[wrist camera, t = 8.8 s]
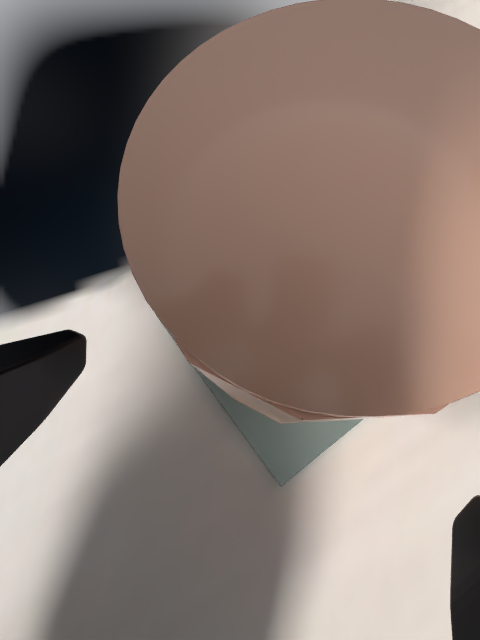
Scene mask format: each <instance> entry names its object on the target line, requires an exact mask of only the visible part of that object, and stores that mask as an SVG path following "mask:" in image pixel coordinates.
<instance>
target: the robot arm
mask: <svg viewBox="0 0 480 640" xmlns="http://www.w3.org/2000/svg"><path fill="white" fill-rule="evenodd" d="M85 364H86V337H85V336H84V335H83V334H80V333H78V332H75V331H73V330H63V331H59V332H55V333H50V334H46V335H41V336H37V337H33V338H28V339H24V340H20V341H15V342H11V343H6V344H2V345H0V466H1V465H2V464H3V463H4V462H5V461H6V460H7V459H8V458H9V457H10V456H11V455H12V454H13V453H14V452H15V451H16V450H17V449H18V448H19V446H20V445H21V444H22V443H23V442H24V441H25V440H26V439H27V438H28V437H29V436H30V435H31V434H32V433H33V432H34V431H35V430H36V429H37V428H38V427H39V425H40V424H41V423H42V422H43V421H44V420H45V419H46V417H47V416H48V415H49V414H50V413H51V411H52V410H53V409H54V407H55V406H56V405H57V404H58V402H59V401H60V400H61V398H62V397H63V396H64V395H65V393H66V392H67V391H68V389H69V388H70V387H71V386H72V384H73V383H74V382H75V380H76V379H77V378H78V377H79V375H80V374H81V373H82V371H83V369H84V367H85ZM450 609H451V625H452V638H453V640H480V495H477V496H475V497H473V498H472V499H471V500H470V502H469V503H468V504H467V505H466V506H465V507H464V508H463V510H462V511H461V512H460V513H459V514H458V515H457V517H456V518H455V520H454V523H453V528H452V556H451V587H450Z"/></svg>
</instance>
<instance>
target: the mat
mask: <svg viewBox="0 0 480 640" xmlns="http://www.w3.org/2000/svg"><path fill="white" fill-rule="evenodd" d="M156 316H157V315H156ZM159 320H160V319H159ZM161 323H162V322H161ZM164 327H165V326H164ZM165 328H166V327H165ZM166 329H167V328H166ZM167 331H168V332H169V334H170V335H171V333H170V331H169V330H168V329H167ZM171 336H172V335H171ZM172 338H173V336H172ZM173 339H174V338H173ZM174 340H175V339H174ZM175 342H176V341H175ZM177 345H178V344H177ZM193 367H194V366H193ZM194 368H195V367H194ZM195 369H196V368H195ZM196 371H197V372H198V373H199V375H200V376H201V377H202V379H203V380H204V382H205V383H206V384H207V386H208V387H209V388H210V390H211V391H212V393H213V394H214V395H215V397H216V398H217V399H218V401H219V402H220V404H221V405H222V406H223V408H224V409H225V410H226V412H227V413H228V415H229V416H230V417H231V419H232V420H233V421H234V423H235V424H236V426H237V427H238V428H239V430H240V431H241V432H242V434H243V435H244V437H245V438H246V439H247V441H248V442H249V443H250V445H251V446H252V448H253V449H254V450H255V452H256V453H257V454H258V456H259V457H260V459H261V460H262V461H263V463H264V464H265V465H266V467H267V468H268V469H269V471H270V472H271V474H272V475H273V476H274V478H275V479H276V480H277V482H278V483H279V485H280V486H282V485H283V484H285V483H286V482H287V481H288V480H290V479H291V478H292V477H293V476H294V475H296V474H297V473H298V472H299V471H301V470H302V469H303V468H304V467H305V466H307V465H308V464H309V463H310V462H312V461H313V460H314V459H315V458H316V457H318V456H319V455H320V454H321V453H323V452H324V451H325V450H326V449H327V448H329V447H330V446H331V445H332V444H334V443H335V442H336V441H337V440H338V439H340V438H341V437H342V436H343V435H345V434H346V433H347V432H348V431H349V430H351V429H352V428H353V427H354V426H356V425H357V424H358V423H359V422H360V421H362V420H363V419H351V420H337V421H320V422H301V423H282V424H280V423H278V422H276V421H274V420H272V419H270V418H268V417H266V416H264V415H262V414H260V413H258V412H257V411H255V410H253V409H251V408H249V407H247V406H245V405H243V404H241V403H239V402H237V401H236V400H235V399H233V398H232V397H231V396H230V395H228V394H227V393H226V392H225V391H223V390H222V389H221V388H220V387H218V386H217V385H216V384H215V383H214V382H212V381H211V380H210V379H209V378H207V377H206V376H205V375H204V374H202V373H201V372H200V371H199V370H197V369H196Z"/></svg>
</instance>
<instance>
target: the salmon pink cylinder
mask: <svg viewBox="0 0 480 640" xmlns="http://www.w3.org/2000/svg"><path fill="white" fill-rule="evenodd" d="M118 216H119V217H118V218H119V226H120V231H121V236H122V242H123V247H124V251H125V253H126V256H127V259H128V262H129V265H130V268H131V271H132V274H133V276H134V278H135V280H136V282H137V284H138V286H139V288H140V290H141V292H142V293H143V295H144V297H145V299H146V301H147V303H148V304H149V305H150V307H151V308H152V310H153V311H154V312H155V314H156V315H157V317H158V318H159V319H160V321H161V322H162V324H163V325H164V326H165V327H166V328H167V329H168V330H169V331H170V333H171V335H172V336H173V338H174V339H175V341H176V343H177V344H178V346H179V348H180V349H181V351H182V352H183V354H184V356H185V357H186V359H187V361H188V362H189V363H190V364H191V365H192V366H194V367H195V368H196V369H197V370H199V371H200V372H201V373H202V374H204V375H205V376H206V377H207V378H209V379H210V380H211V381H212V382H214V383H215V384H216V385H217V386H218V387H220V388H221V389H222V390H223V391H225V392H226V393H227V394H228V395H230V396H231V397H232V398H233V399H235V400H236V401H237V402H239V403H241V404H243V405H245V406H247V407H249V408H251V409H253V410H255V411H257V412H258V413H260V414H262V415H264V416H266V417H268V418H270V419H272V420H274V421H276V422H278V423H280V424H282V423H301V422H320V421H337V420H351V419H365V418H379V417H393V416H407V415H421V414H435V413H437V412H438V411H440V410H441V409H442V408H444V407H445V406H447V405H448V404H449V403H452V402H455V401H457V400H459V399H462V398H464V397H467V396H469V395H471V394H474V393H476V392H479V391H480V29H478V28H476V27H473V26H471V25H469V24H467V23H465V22H463V21H461V20H459V19H456V18H454V17H451V16H448V15H445V14H442V13H439V12H437V11H434V10H431V9H427V8H423V7H419V6H415V5H410V4H406V3H401V2H394V1H387V0H317V1H310V2H303V3H297V4H293V5H289V6H285V7H281V8H277V9H274V10H270V11H267V12H265V13H262V14H259V15H257V16H254V17H251V18H248V19H246V20H244V21H242V22H240V23H238V24H236V25H234V26H232V27H230V28H228V29H226V30H224V31H222V32H220V33H219V34H217V35H216V36H214V37H213V38H211V39H210V40H208V41H206V42H205V43H203V44H202V45H200V46H199V47H198V48H197V49H195V50H194V51H193V52H192V53H190V54H189V55H188V56H187V57H186V58H184V59H183V60H182V61H181V62H180V63H179V64H178V65H177V66H176V67H175V68H174V69H173V70H172V71H171V72H170V73H169V74H168V75H167V76H166V77H165V78H164V79H163V81H162V82H161V83H160V85H159V86H158V87H157V89H156V90H155V91H154V93H153V94H152V95H151V97H150V98H149V99H148V101H147V103H146V104H145V106H144V108H143V110H142V111H141V113H140V115H139V117H138V118H137V120H136V122H135V125H134V128H133V130H132V132H131V135H130V137H129V140H128V142H127V145H126V149H125V153H124V157H123V161H122V164H121V168H120V177H119V186H118Z"/></svg>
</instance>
